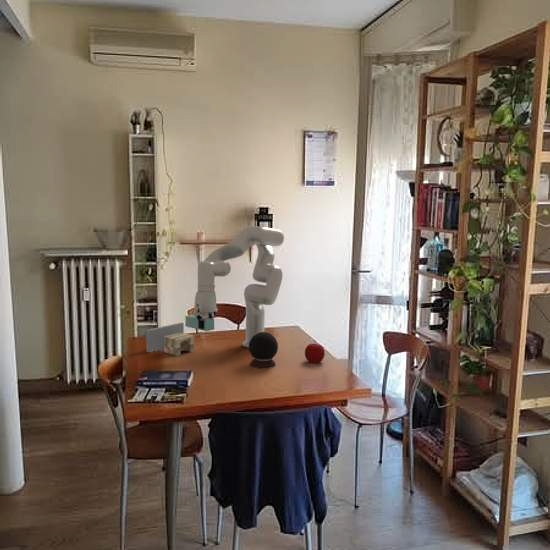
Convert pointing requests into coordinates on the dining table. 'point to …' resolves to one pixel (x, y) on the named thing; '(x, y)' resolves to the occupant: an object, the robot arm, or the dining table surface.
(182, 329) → the wall
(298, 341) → the dining table surface
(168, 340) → the block
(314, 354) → the apple
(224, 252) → the robot arm
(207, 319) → the peg
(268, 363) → the snow globe
